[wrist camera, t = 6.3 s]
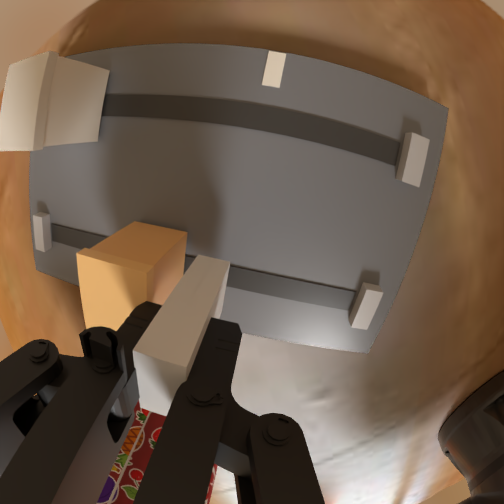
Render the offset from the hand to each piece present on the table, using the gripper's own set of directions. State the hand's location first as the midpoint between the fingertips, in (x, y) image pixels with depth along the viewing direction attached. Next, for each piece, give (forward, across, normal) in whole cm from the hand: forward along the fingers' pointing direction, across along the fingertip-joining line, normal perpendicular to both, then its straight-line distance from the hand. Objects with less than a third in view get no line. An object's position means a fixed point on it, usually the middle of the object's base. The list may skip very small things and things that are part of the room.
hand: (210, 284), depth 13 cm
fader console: (+4, +2, -4) cm, 6 cm away
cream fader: (+2, +9, -8) cm, 12 cm away
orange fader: (+2, +3, 0) cm, 4 cm away
